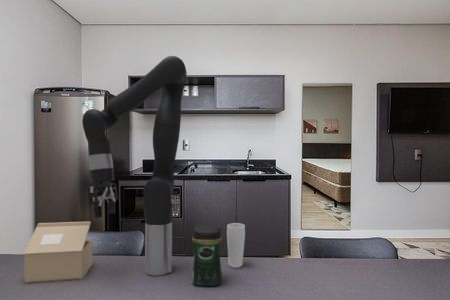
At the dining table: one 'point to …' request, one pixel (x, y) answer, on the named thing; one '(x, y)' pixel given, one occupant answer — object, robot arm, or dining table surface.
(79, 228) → the lid
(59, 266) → the mailer box
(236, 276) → the dining table surface
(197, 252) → the coffee jar
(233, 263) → the drinking glass
